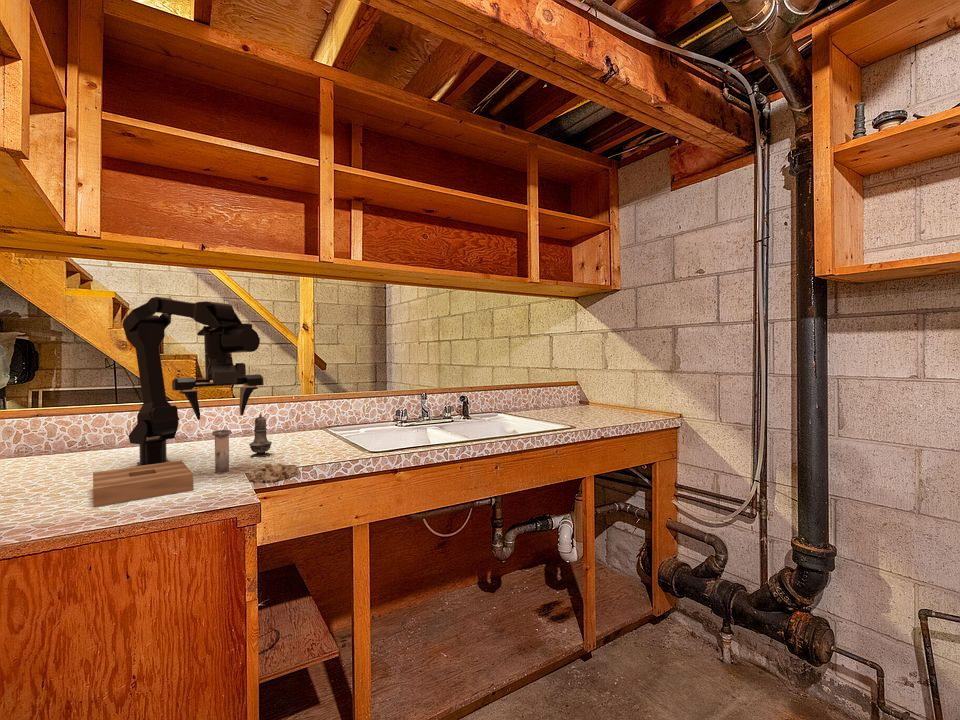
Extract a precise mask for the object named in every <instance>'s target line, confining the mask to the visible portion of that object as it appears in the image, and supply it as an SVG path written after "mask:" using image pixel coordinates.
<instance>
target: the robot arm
mask: <svg viewBox="0 0 960 720" xmlns="http://www.w3.org/2000/svg"><path fill="white" fill-rule="evenodd" d="M156 313H158V314H161V315H157V314H156ZM172 315H175V316H179V317H185V318H191V319H193V321H194V322H196V323H199V324H201V325H203V327H202V329H200V330H199V331H198V332H197V333H196V334H197V336H199V337H201V336H202V337H204V339H203V340H204V341H203V342H204V343H203V344H204V366H205V367H204V368H205V369H204V370H205V379H196V378H195V377H176V378H175V377H174V379H172V382H171V386H172V387H171V388H172V389H171V390H172V391H177V392H178V393H179V394H181V395H184V396H185V397H186V399H187V401H188V402H189V404H190V406H191V408H192V411H193V412H194V415H195V416H196V419H197V420H198V421H200V420H201V411H200V406H199V399H198V390H195V389H196V388H202V387H203V388H204V387H220V386H221V387H222V386H236V385H242V386H240V387H239V415H240V416H242V417H243V416H244V413H245V410H246V407H247V404H248V401H249V398H250V396H251V395H252V393H253V392H254V390H258V388H259V387H258V386H260V387H261V386H264V384H265V383H264V376H262V374H247V370H246V366H247V365H246V363H245V362H237V363H235V364H234V362H233V361H234V360H233V354H236V353H237V354H238V353H253V352H255V351H257V350H258V348H259V347H260V344H261V339H260V336H259V334H258V332H257V331H256V330H255V329H254V328H253V324H252V323H242V321H241V320H240V318H239V316H238V315H237V313H236V312H235V310H234V307H233V305H232V304H229V303H223V302H215V301H197V302H190V301H184V300H183V301H182V300H177V299H173V298H170V297H163V296H153V297H151V298H150V299H149V300H148V301H147V302H145V303H144V304H141V305H140V306H138V307H136V308H134V309H132V310H131V311H130V312H129V313H128V314H127V315H126V317H124V319H123V320H122V327H123V330H124V335H125V338H126V340H127V341H128V342H129V343H130V344H131V346H132V347H133V348H134V349H135V353H136V354H135V355H136V361H137V367H138V376H139V382H140V390H141V396H142V397H141V398H142V405H141V406H140V407H141V408H140V409H139V411H138V413H137V415H136V416H137V418H136V421H137V423H136V425H135V426H134V428H133V429H132V430H131V432H130V433H128V440H129V444H131V445H133V444H134V445H138V446H139V461H137V462H136V465H137V466H143V465H151V464H158V463H166V462H170V461H169V459H168V457H167V440H174V439H176V435H177V432H178V428H179V421H180V420H181V419H180V417H179V413H178V409H179V408H178V406H177V405H172V404H171V403H170V402H169V401H168V399H167V393H166V386H165V379H164V373H163V366H162V359H161V351H160V346H161V344H162V342H163V340H164V339H165V335H166V332H165V330H166V328H167V327H169V325H170V324H171V323H172Z"/></svg>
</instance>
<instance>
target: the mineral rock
mask: <svg viewBox="0 0 960 720" xmlns="http://www.w3.org/2000/svg"><path fill="white" fill-rule="evenodd" d="M298 472H299V467H297V465H295V464H282V463H277V464H275V465H274V464H272V463H271V464H270V463H265V465H264V467H258V468H255V469H254V470H251V471H249V472H248V473H247V474H248V475H249V480H250V481H252V482H254V483H255V484H268V483H269V484H270V483H271V484H272V483H274V482H280V481H284V480H286V479H290V478H294V477H295V476H297V475H298Z"/></svg>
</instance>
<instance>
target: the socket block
mask: <svg viewBox="0 0 960 720" xmlns="http://www.w3.org/2000/svg"><path fill="white" fill-rule="evenodd" d="M92 488H93V489H92V491H93V492H92V494H93V496H92V499H93V504H92V505H93V508H97V507H96V506H98V507H103V506H102V505H104V506H109V505H108V504H110V505H114V504H113V503H116V504H120V503H119V502H122V503H127V502H132V500H133V501H138V500H144V499H150V498H156V497H160V496H161V497H162V496H167V495H174V494H179V493H184V491H185V492H190V491H194V473H193V472H192V471H191V469H189V467H188V466H187V465H186V464H185V463H184V461H182V460H175V461H169V462H166V463H158V464H151V465H143V466H138V465H137V466H130V467H122V468H115V469H107V470H100V471H93V472H92ZM173 493H174V494H173ZM126 501H127V502H126Z"/></svg>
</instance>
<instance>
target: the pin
mask: <svg viewBox="0 0 960 720" xmlns="http://www.w3.org/2000/svg"><path fill="white" fill-rule="evenodd" d="M211 433H212V434H211V435H212V436H214V471H215V472H214V473H215V474H224V472H225V473H228V472H230V435H231V434H232V430H231V429H216V430H213V431H212V432H211Z"/></svg>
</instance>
